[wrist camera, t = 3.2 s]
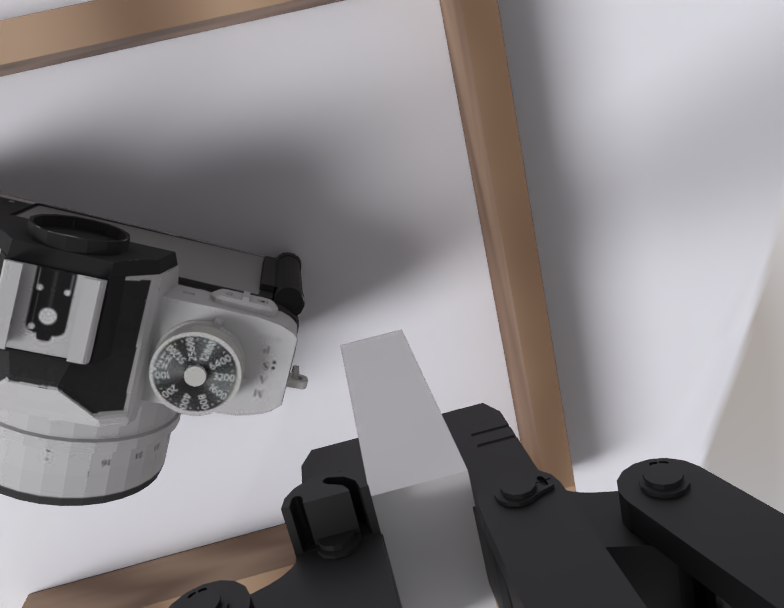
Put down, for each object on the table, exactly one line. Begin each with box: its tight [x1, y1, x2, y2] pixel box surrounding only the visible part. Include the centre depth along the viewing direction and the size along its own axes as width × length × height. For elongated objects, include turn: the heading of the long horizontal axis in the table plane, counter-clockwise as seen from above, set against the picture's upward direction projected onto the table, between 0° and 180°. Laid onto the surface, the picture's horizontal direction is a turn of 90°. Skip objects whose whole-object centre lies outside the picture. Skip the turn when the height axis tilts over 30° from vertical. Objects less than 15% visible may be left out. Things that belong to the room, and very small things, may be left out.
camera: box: [0, 194, 308, 506], centre depth 22 cm, size 16×9×10 cm, turn 75°
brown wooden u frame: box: [0, 0, 576, 608], centre depth 26 cm, size 23×22×3 cm
